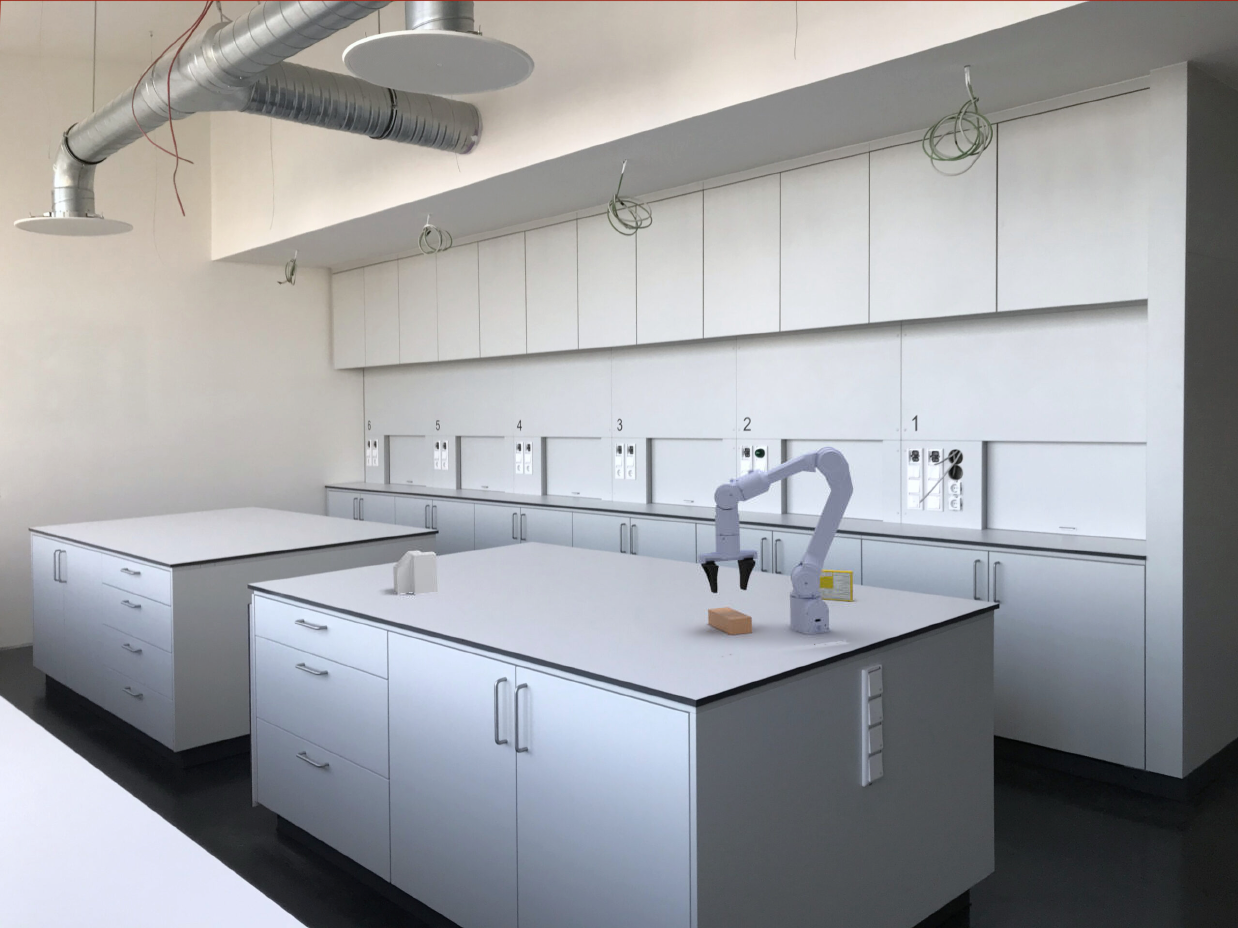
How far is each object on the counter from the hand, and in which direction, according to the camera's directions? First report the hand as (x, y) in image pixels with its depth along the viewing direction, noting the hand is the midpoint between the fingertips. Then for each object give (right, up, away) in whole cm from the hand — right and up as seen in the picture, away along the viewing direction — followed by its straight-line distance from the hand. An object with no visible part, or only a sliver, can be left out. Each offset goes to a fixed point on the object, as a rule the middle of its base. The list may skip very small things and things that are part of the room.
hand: (728, 590), depth 228 cm
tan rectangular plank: (0, -9, 0) cm, 9 cm away
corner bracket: (-88, -9, +64) cm, 109 cm away
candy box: (+30, -7, +36) cm, 48 cm away
